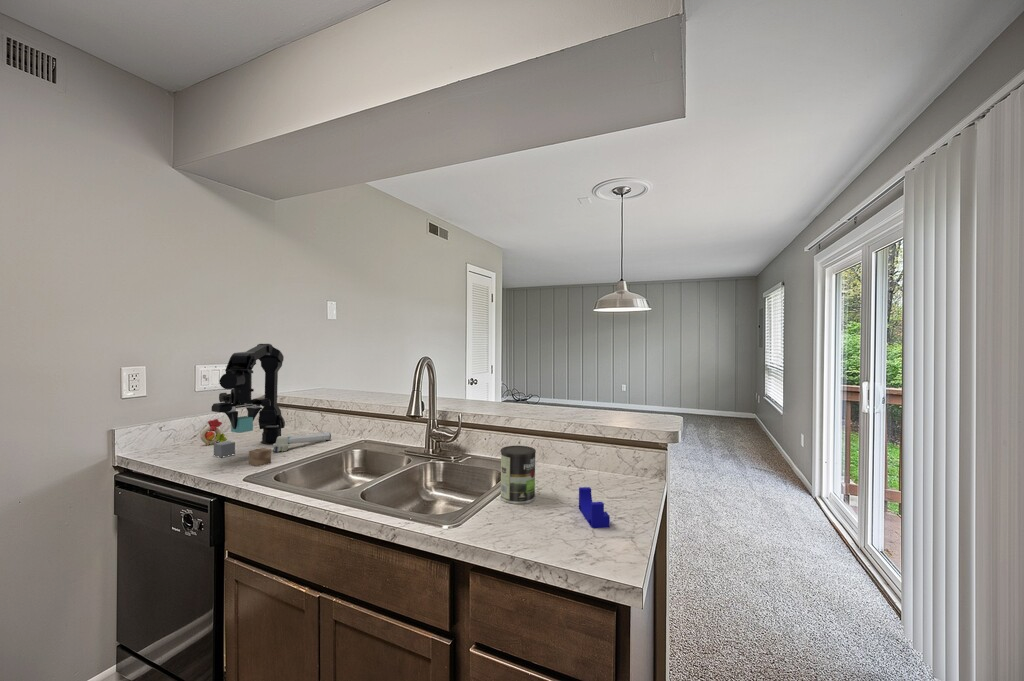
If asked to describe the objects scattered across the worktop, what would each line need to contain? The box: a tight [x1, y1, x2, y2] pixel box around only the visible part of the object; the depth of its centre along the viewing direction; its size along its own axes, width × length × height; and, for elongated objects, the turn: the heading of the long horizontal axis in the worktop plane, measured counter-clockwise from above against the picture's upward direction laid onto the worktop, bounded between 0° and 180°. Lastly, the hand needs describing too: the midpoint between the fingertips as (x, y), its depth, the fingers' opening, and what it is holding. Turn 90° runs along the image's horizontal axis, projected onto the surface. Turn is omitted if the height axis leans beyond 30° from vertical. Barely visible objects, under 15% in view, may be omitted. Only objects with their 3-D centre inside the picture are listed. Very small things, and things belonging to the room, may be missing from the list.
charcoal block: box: [213, 440, 236, 457], centre depth 162 cm, size 5×5×5 cm
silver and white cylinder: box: [272, 431, 332, 453], centre depth 178 cm, size 5×7×25 cm
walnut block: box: [248, 447, 272, 467], centre depth 152 cm, size 5×5×5 cm
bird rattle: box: [200, 418, 228, 446], centre depth 179 cm, size 6×11×9 cm
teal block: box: [230, 415, 254, 434], centre depth 157 cm, size 5×5×5 cm
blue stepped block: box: [578, 486, 611, 529], centre depth 109 cm, size 12×4×6 cm, turn 6°
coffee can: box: [500, 445, 537, 505], centre depth 123 cm, size 10×10×14 cm
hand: (242, 427), depth 157 cm, fingers closed on teal block, 5 cm apart
